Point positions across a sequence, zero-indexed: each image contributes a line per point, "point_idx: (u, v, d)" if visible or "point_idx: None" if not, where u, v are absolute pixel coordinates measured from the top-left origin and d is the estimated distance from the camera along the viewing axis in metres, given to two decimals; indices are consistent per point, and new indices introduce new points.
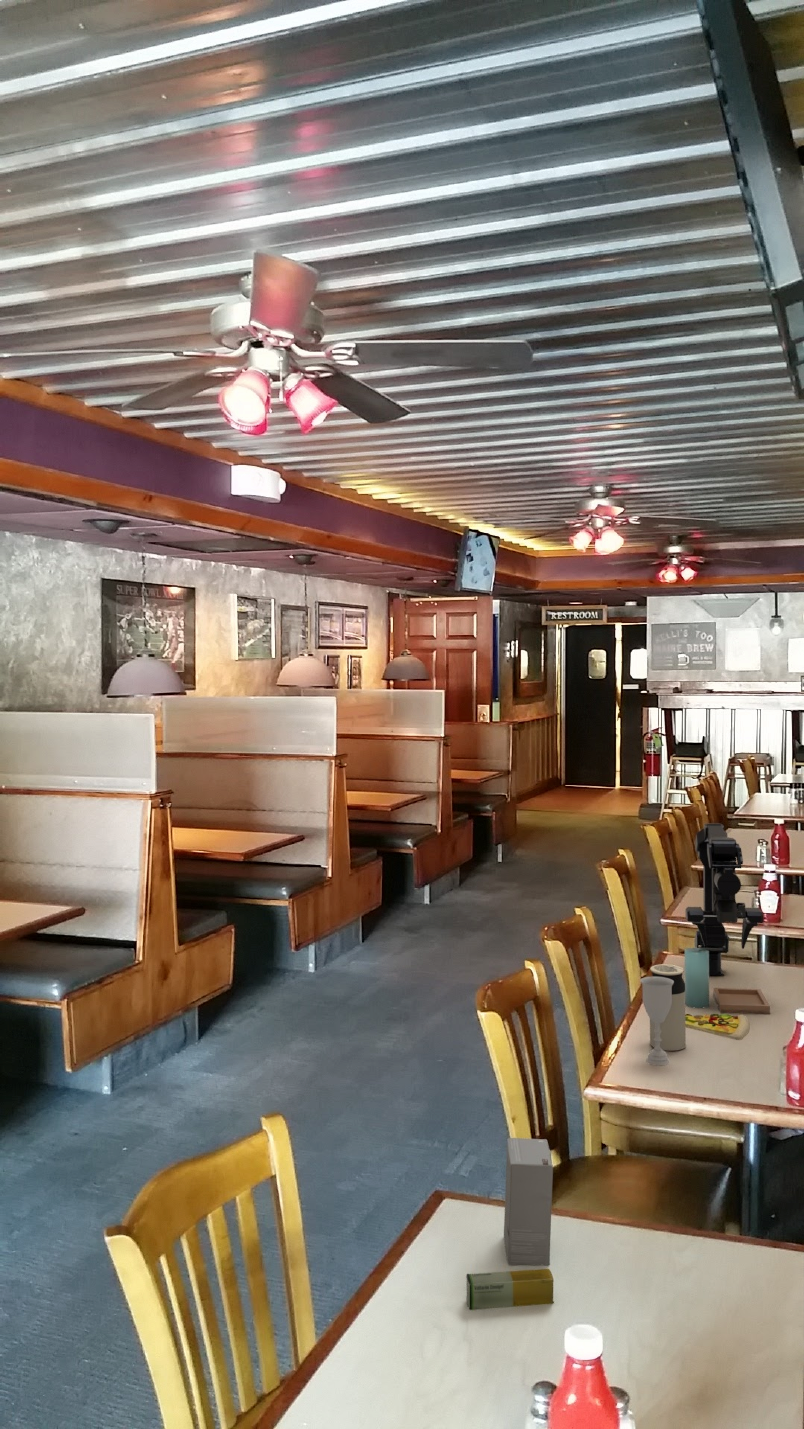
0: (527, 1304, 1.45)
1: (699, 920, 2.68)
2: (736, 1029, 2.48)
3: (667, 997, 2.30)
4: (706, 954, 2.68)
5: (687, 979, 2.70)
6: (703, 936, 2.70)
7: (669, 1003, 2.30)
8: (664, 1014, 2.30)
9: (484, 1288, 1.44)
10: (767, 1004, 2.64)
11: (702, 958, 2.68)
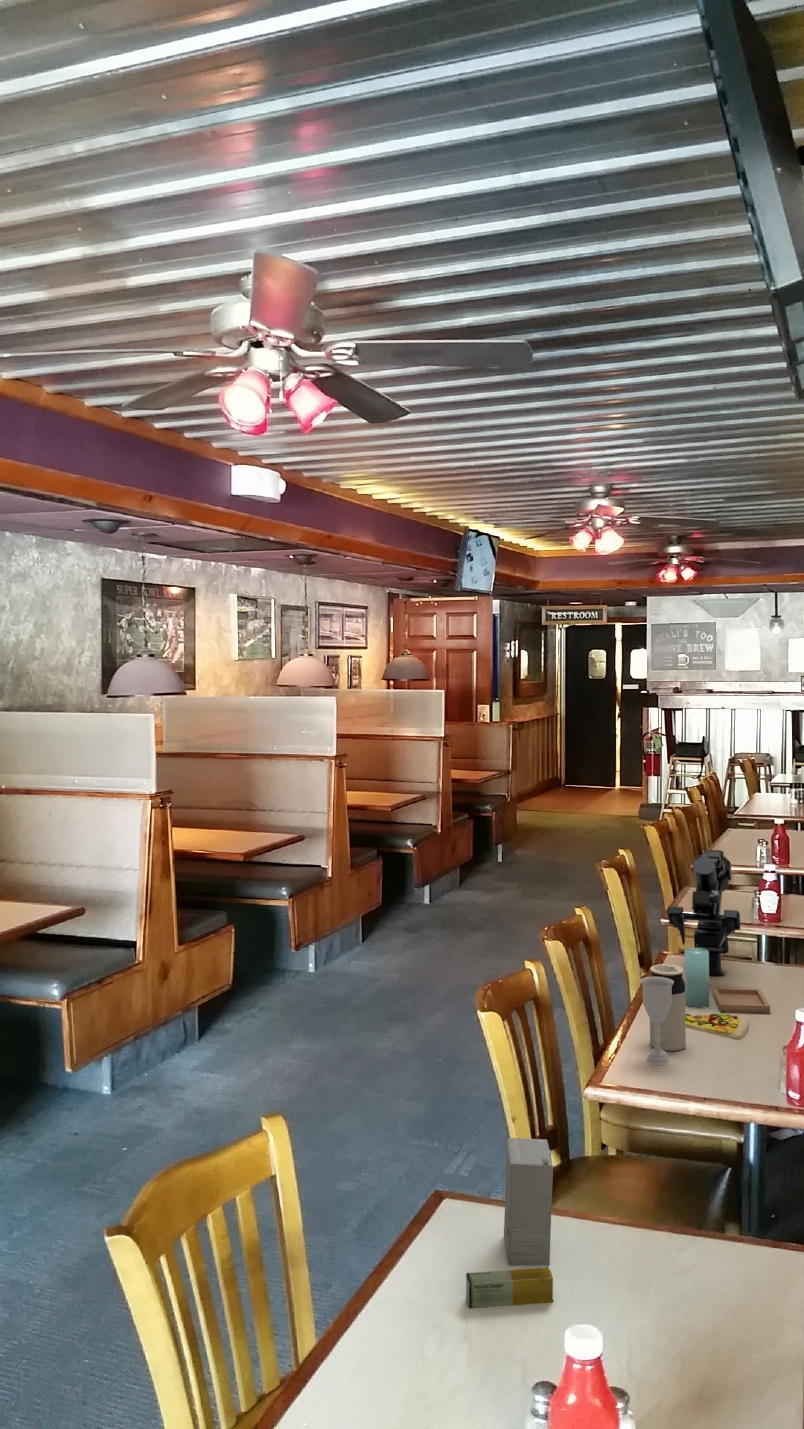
0: (527, 1303, 1.45)
1: (677, 912, 2.83)
2: (736, 1029, 2.48)
3: (667, 997, 2.30)
4: (706, 954, 2.68)
5: (687, 979, 2.70)
6: (681, 931, 2.81)
7: (669, 1003, 2.30)
8: (664, 1014, 2.30)
9: (483, 1287, 1.44)
10: (767, 1004, 2.64)
11: (702, 958, 2.68)
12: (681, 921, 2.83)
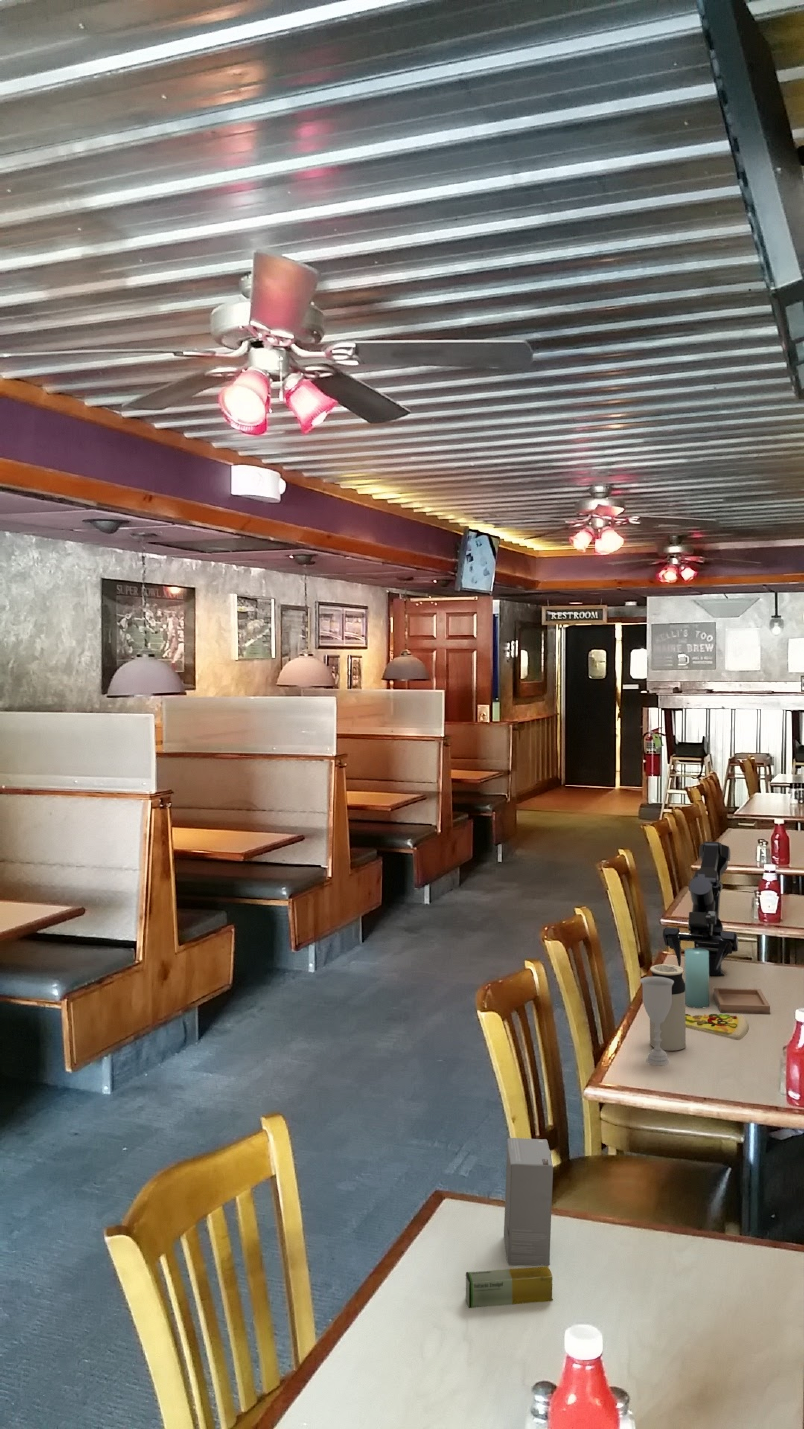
0: (526, 1302, 1.45)
1: (673, 933, 2.77)
2: (735, 1029, 2.48)
3: (667, 997, 2.30)
4: (706, 954, 2.68)
5: (687, 979, 2.70)
6: (677, 952, 2.75)
7: (669, 1003, 2.30)
8: (664, 1014, 2.30)
9: (483, 1286, 1.45)
10: (767, 1004, 2.64)
11: (702, 958, 2.68)
12: (677, 942, 2.76)
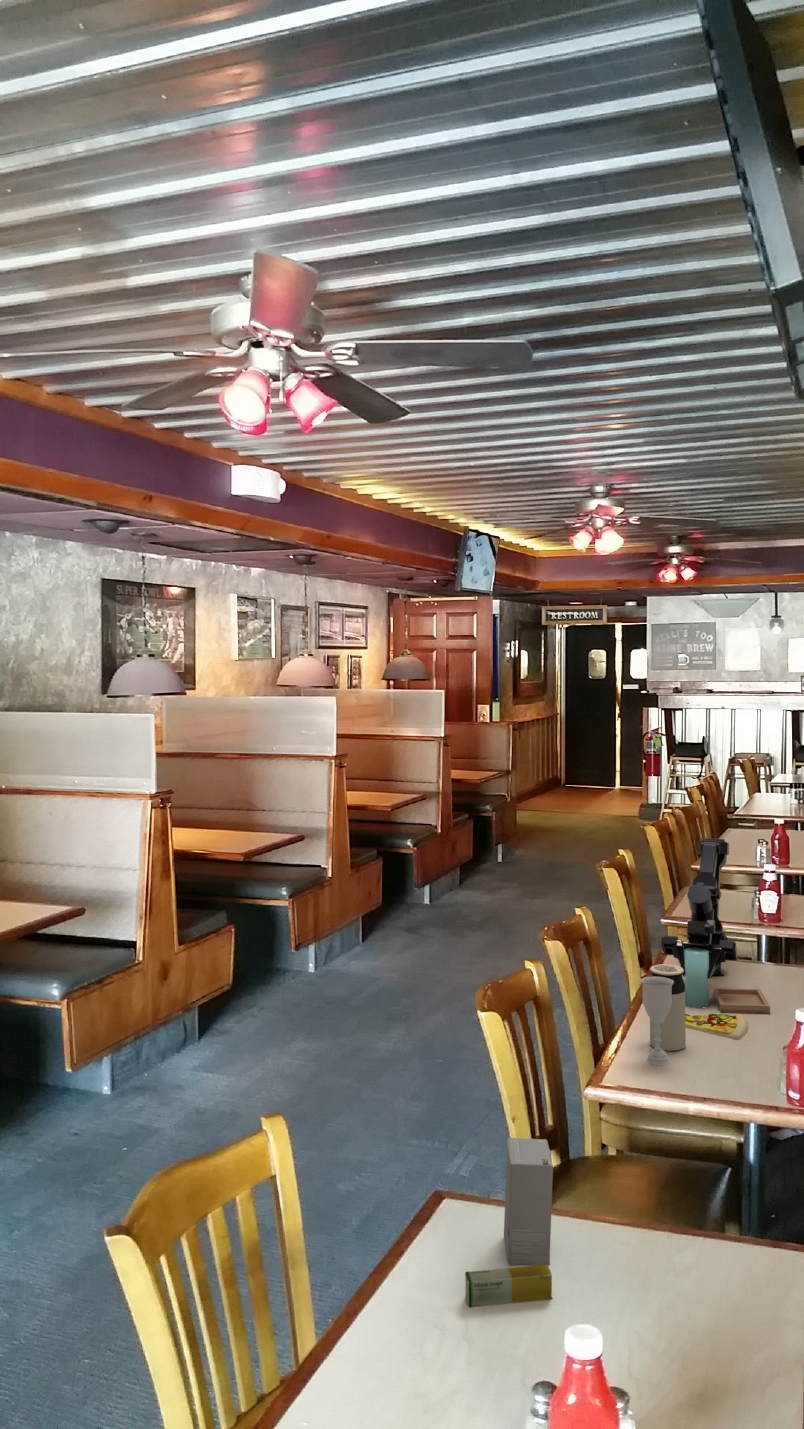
0: (526, 1300, 1.46)
1: (672, 942, 2.75)
2: (735, 1029, 2.48)
3: (667, 997, 2.30)
4: (706, 954, 2.68)
5: (687, 979, 2.70)
6: (681, 962, 2.72)
7: (669, 1003, 2.30)
8: (664, 1014, 2.30)
9: (483, 1286, 1.45)
10: (767, 1004, 2.64)
11: (702, 958, 2.68)
12: (681, 952, 2.74)
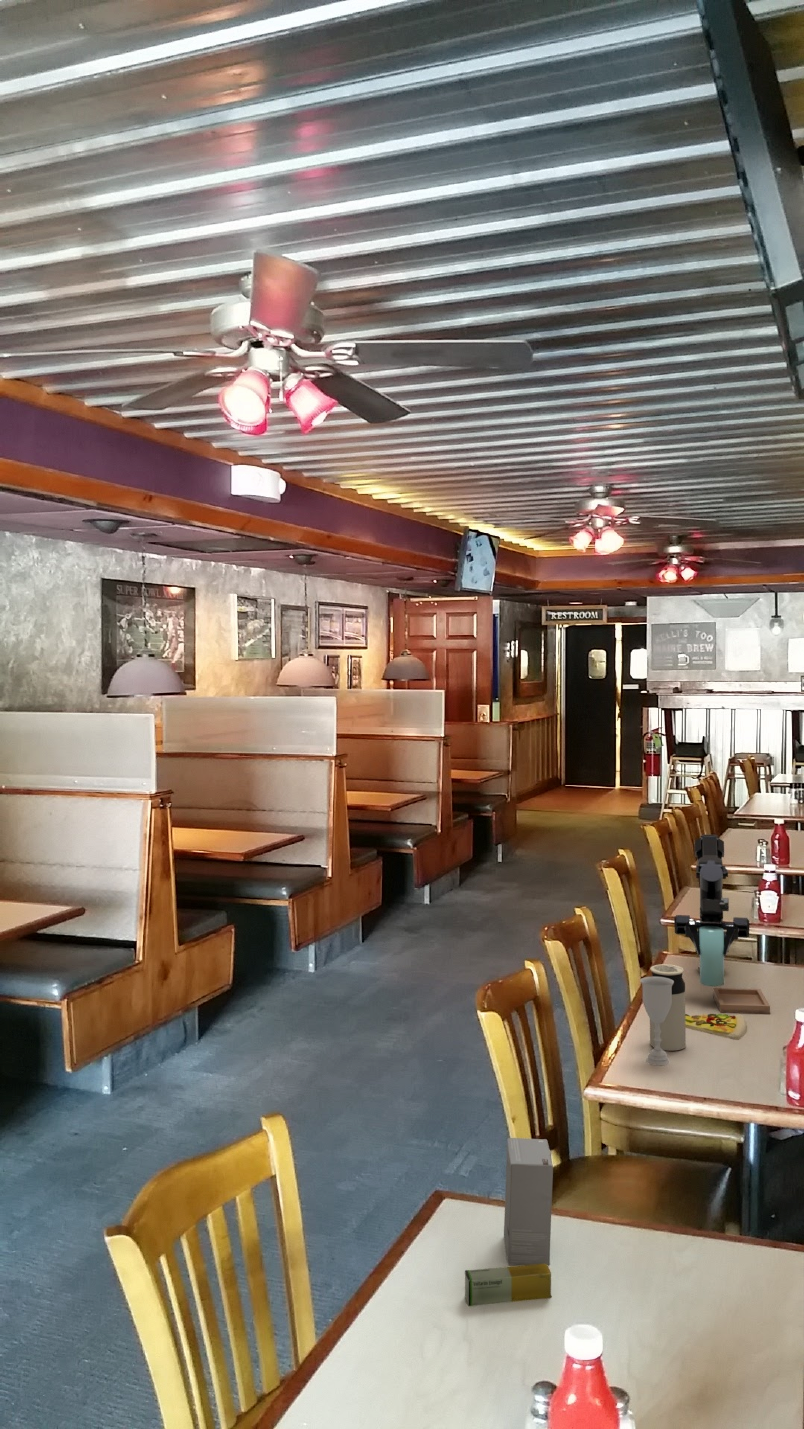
0: (525, 1299, 1.46)
1: (685, 921, 2.73)
2: (734, 1029, 2.48)
3: (667, 997, 2.30)
4: (722, 932, 2.68)
5: (703, 958, 2.69)
6: (696, 941, 2.71)
7: (669, 1003, 2.30)
8: (664, 1014, 2.30)
9: (483, 1284, 1.45)
10: (767, 1004, 2.64)
11: (719, 936, 2.67)
12: (695, 931, 2.72)
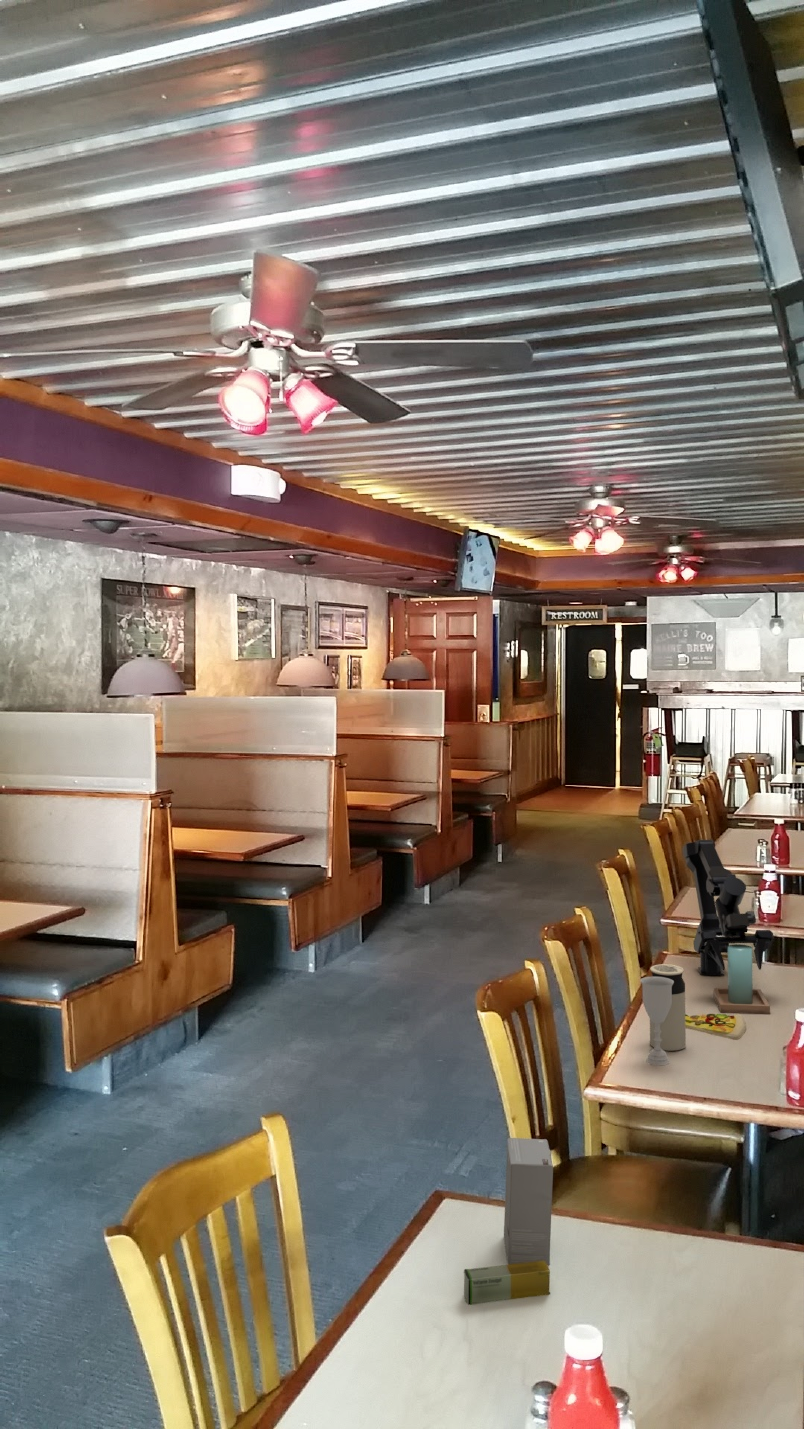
0: (524, 1296, 1.47)
1: (713, 936, 2.72)
2: (733, 1029, 2.48)
3: (667, 997, 2.30)
4: (751, 950, 2.69)
5: (734, 977, 2.68)
6: (719, 956, 2.70)
7: (669, 1003, 2.30)
8: (664, 1014, 2.30)
9: (482, 1283, 1.45)
10: (767, 1004, 2.64)
11: (750, 954, 2.68)
12: (717, 946, 2.71)
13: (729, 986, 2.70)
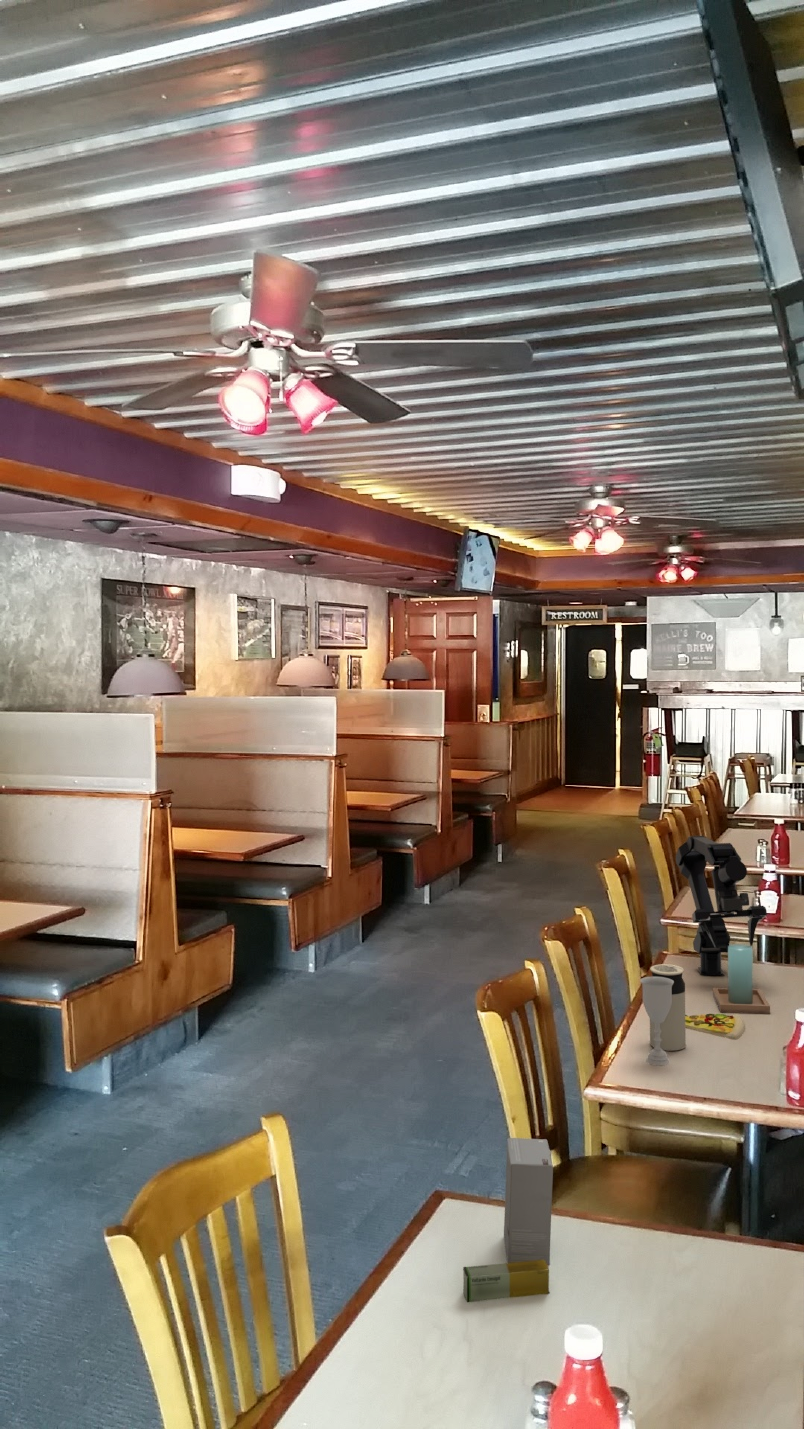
0: (523, 1295, 1.47)
1: (706, 917, 2.81)
2: (732, 1029, 2.48)
3: (667, 997, 2.30)
4: (752, 950, 2.68)
5: (734, 977, 2.68)
6: (712, 935, 2.81)
7: (669, 1003, 2.30)
8: (664, 1014, 2.30)
9: (481, 1280, 1.46)
10: (767, 1004, 2.64)
11: (750, 955, 2.67)
12: (711, 925, 2.81)
13: (729, 986, 2.70)
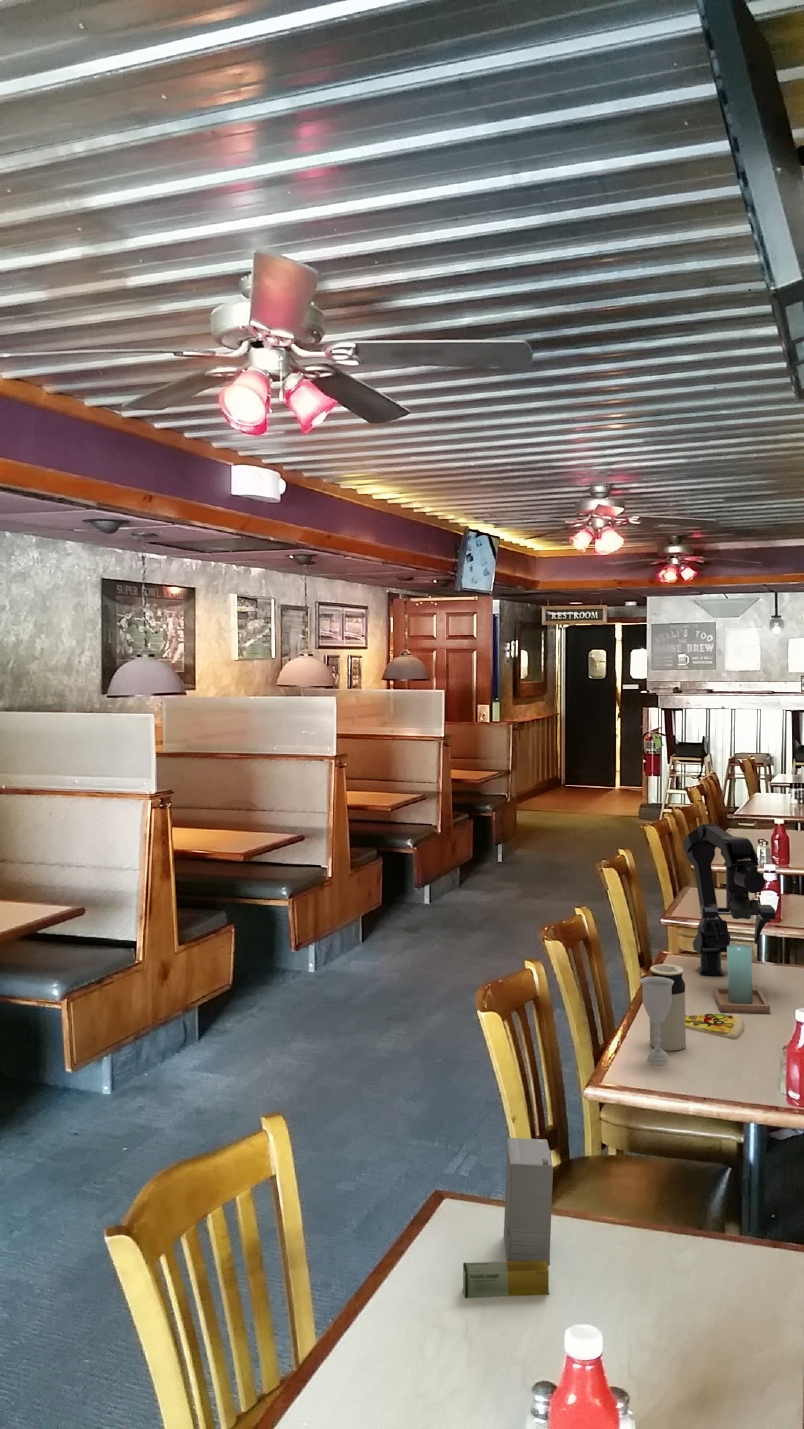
0: (522, 1294, 1.47)
1: (714, 916, 2.78)
2: (732, 1028, 2.48)
3: (667, 997, 2.30)
4: None
5: (734, 976, 2.68)
6: (718, 932, 2.80)
7: (669, 1003, 2.30)
8: (664, 1014, 2.30)
9: (479, 1277, 1.47)
10: (767, 1004, 2.64)
11: (749, 954, 2.68)
12: (717, 923, 2.79)
13: (729, 986, 2.70)
